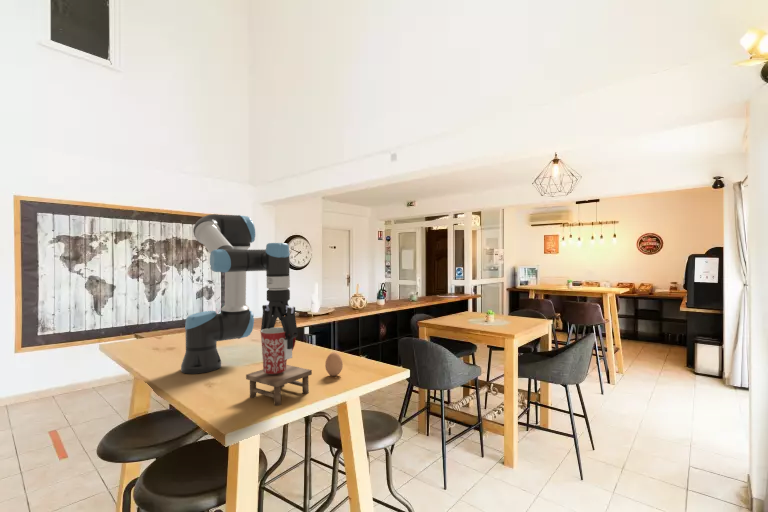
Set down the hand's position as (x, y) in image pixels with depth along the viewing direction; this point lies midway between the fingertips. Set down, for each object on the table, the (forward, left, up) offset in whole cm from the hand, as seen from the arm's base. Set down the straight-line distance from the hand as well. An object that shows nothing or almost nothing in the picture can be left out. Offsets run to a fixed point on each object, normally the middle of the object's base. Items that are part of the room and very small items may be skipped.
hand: (279, 356), depth 127 cm
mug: (0, 0, -4) cm, 4 cm away
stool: (0, 0, -13) cm, 13 cm away
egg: (+2, +25, -13) cm, 28 cm away
